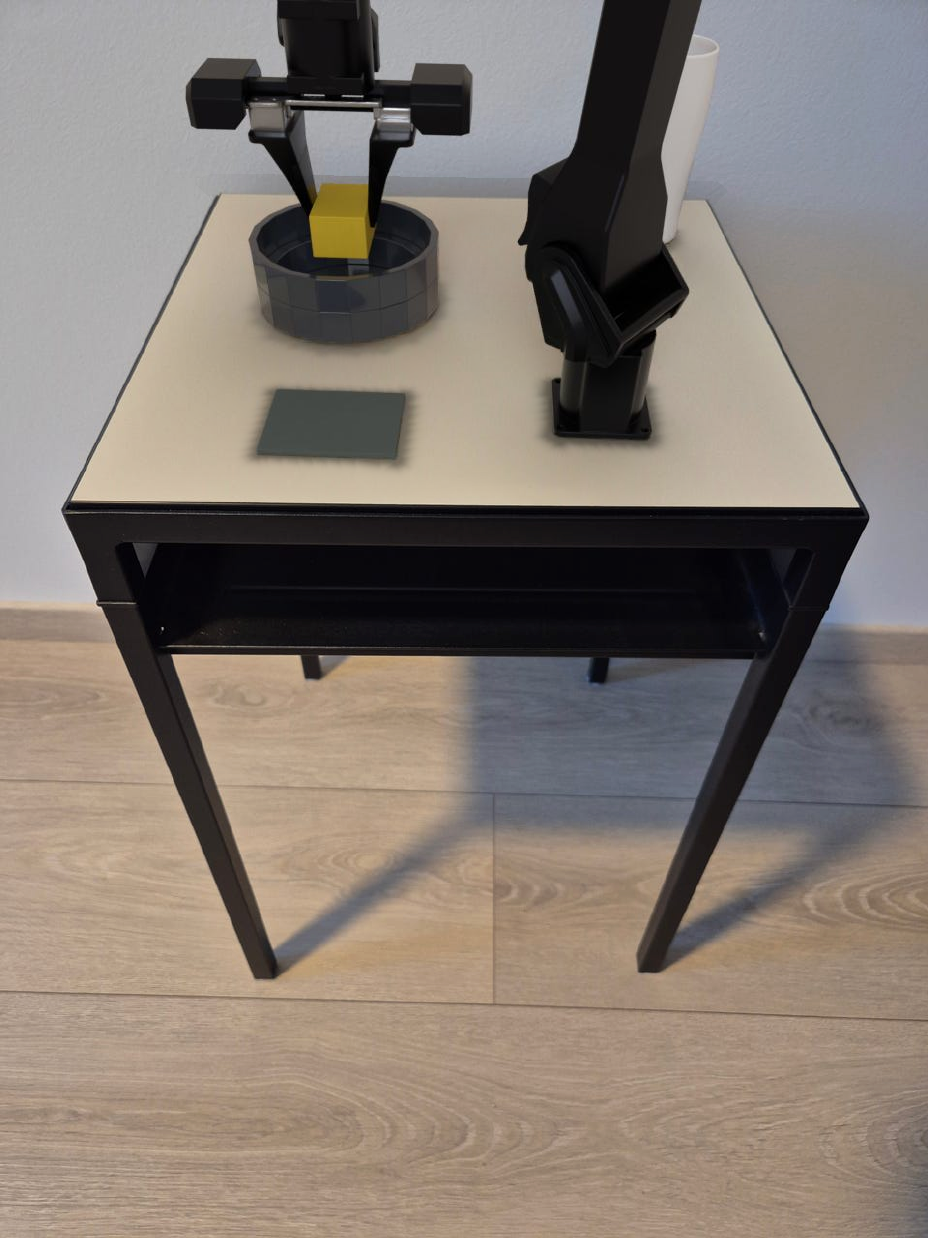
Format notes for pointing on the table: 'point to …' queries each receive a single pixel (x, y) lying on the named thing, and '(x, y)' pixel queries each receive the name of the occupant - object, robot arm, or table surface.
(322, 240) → the sponge
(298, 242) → the bowl
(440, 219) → the table surface
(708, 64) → the white cup
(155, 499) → the table surface
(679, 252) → the table surface
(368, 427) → the mat
